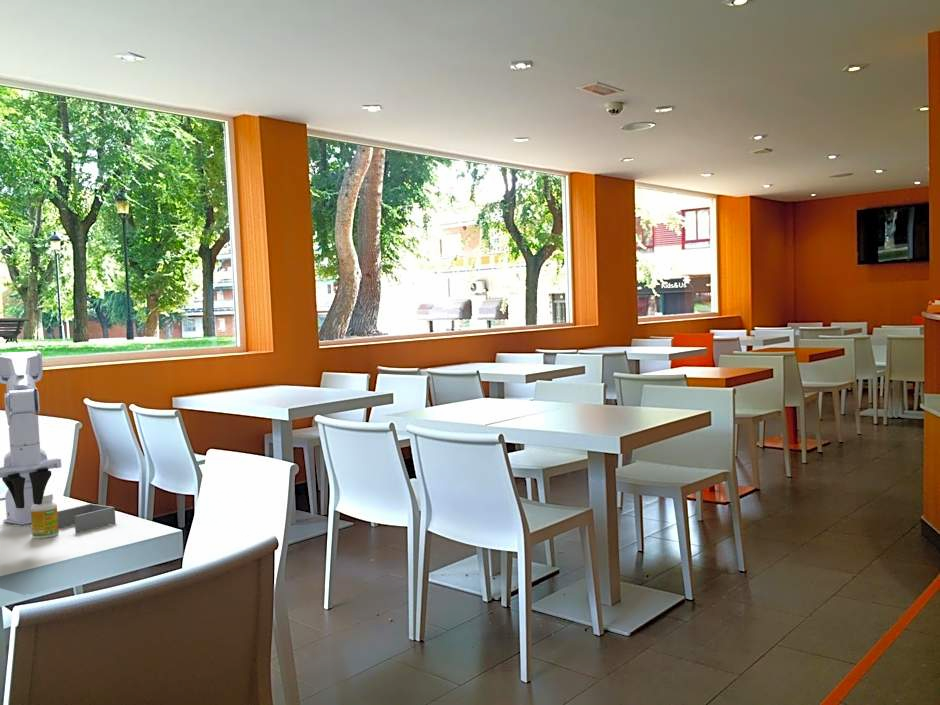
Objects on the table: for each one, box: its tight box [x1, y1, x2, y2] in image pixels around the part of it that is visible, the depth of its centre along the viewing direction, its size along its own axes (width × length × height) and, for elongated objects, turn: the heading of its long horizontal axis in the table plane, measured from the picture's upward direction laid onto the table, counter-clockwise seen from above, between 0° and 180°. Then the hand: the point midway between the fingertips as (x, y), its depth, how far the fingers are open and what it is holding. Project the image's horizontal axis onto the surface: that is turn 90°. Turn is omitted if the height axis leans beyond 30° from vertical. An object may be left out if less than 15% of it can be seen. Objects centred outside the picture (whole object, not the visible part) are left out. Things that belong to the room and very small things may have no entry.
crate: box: [57, 503, 116, 534], centre depth 194 cm, size 10×10×4 cm
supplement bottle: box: [31, 492, 59, 540], centre depth 186 cm, size 5×5×10 cm
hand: (29, 505), depth 175 cm, fingers open, 3 cm apart
